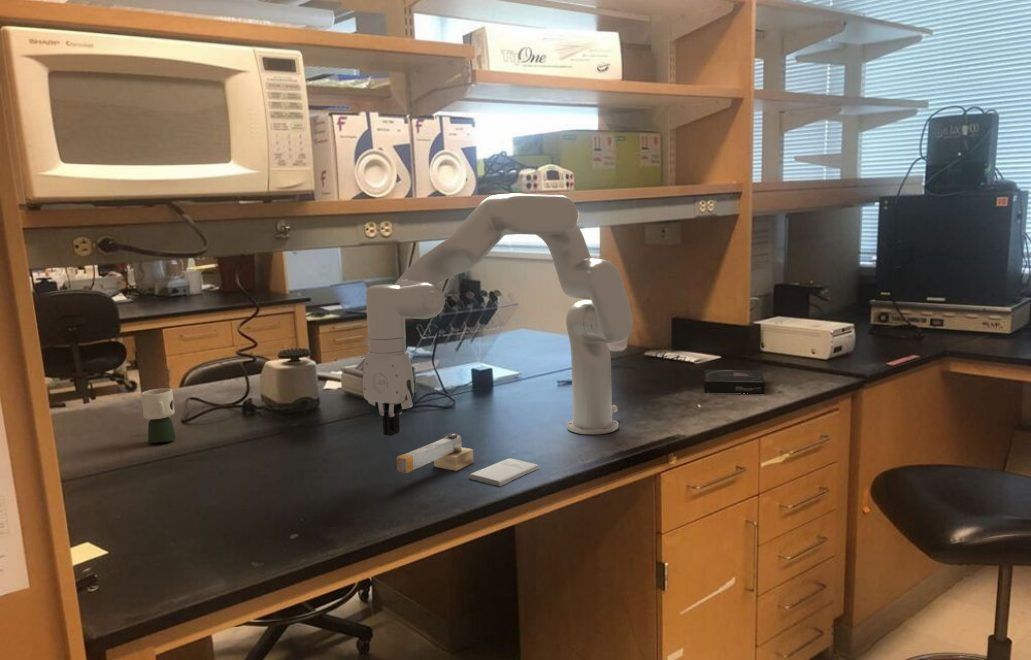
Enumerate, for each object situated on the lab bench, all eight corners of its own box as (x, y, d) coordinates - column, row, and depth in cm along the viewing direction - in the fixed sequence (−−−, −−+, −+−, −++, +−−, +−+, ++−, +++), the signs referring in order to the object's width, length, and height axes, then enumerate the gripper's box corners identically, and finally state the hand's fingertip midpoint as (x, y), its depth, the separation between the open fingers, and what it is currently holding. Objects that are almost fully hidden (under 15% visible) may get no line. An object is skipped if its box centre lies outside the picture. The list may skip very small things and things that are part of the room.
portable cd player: (760, 382, 231) (761, 369, 230) (764, 396, 214) (764, 382, 214) (704, 381, 235) (704, 369, 234) (704, 395, 218) (704, 381, 218)
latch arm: (452, 446, 167) (451, 431, 166) (465, 448, 165) (464, 433, 164) (395, 470, 152) (394, 453, 152) (408, 473, 150) (407, 456, 150)
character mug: (181, 444, 189) (176, 392, 187) (150, 449, 185) (144, 397, 183) (173, 434, 198) (168, 385, 196) (143, 440, 194) (137, 390, 192)
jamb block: (452, 458, 169) (451, 445, 168) (473, 462, 165) (472, 449, 165) (434, 466, 164) (433, 452, 164) (456, 470, 161) (455, 457, 160)
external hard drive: (469, 481, 156) (508, 464, 165) (500, 489, 151) (538, 471, 160) (469, 473, 156) (508, 457, 165) (499, 481, 150) (538, 463, 160)
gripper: (346, 346, 155) (351, 434, 158) (405, 351, 148) (409, 443, 150) (370, 341, 162) (375, 425, 164) (428, 345, 154) (431, 433, 157)
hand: (391, 433), depth 157 cm, fingers closed
